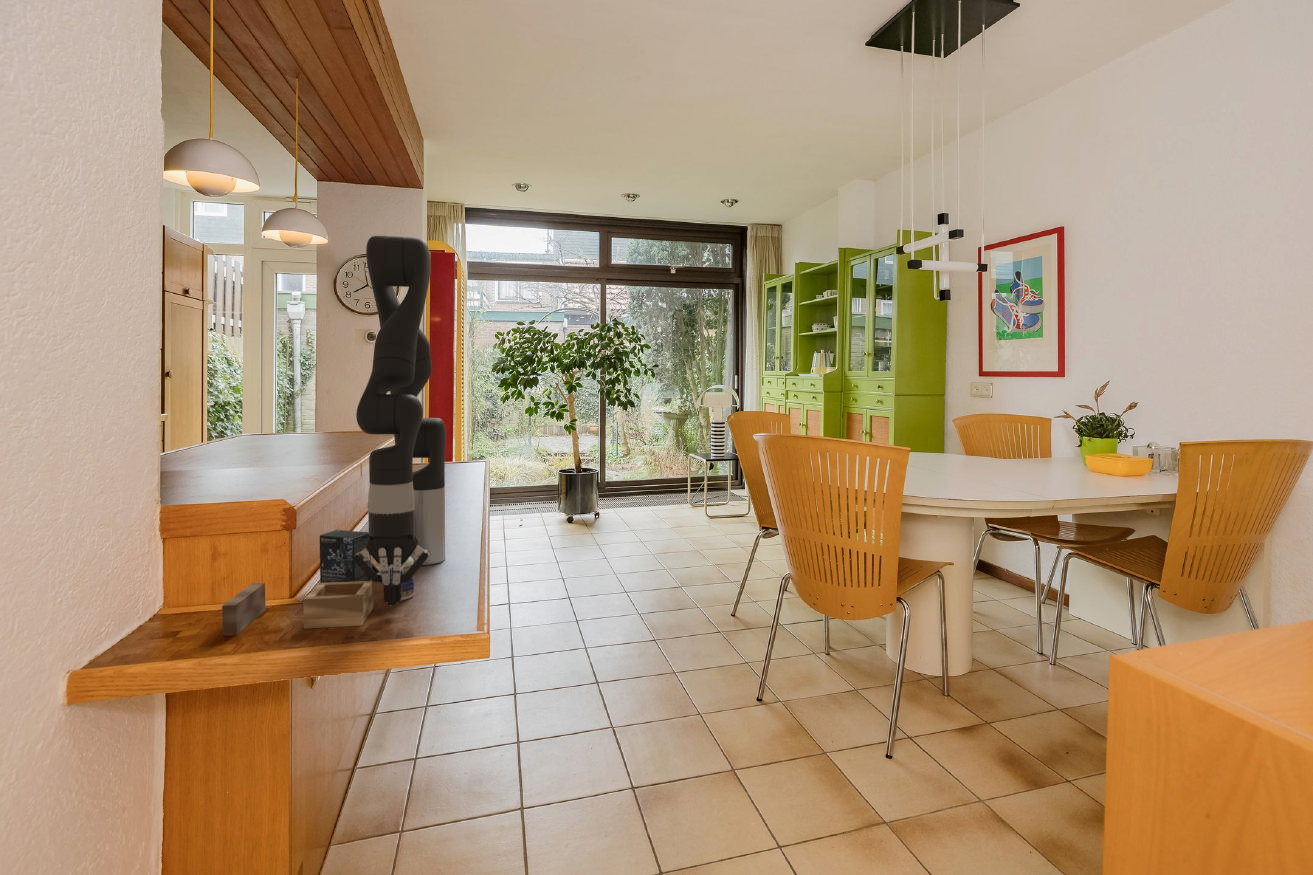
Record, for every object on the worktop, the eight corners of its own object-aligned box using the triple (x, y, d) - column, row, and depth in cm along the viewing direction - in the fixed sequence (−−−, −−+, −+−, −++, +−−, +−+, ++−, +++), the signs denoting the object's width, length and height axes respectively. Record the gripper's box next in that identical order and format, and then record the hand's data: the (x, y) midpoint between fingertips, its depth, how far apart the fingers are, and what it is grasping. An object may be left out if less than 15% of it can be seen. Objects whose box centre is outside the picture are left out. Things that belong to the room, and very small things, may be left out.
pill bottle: (403, 602, 121) (403, 551, 120) (378, 600, 122) (377, 549, 122) (419, 593, 126) (419, 545, 126) (395, 591, 128) (394, 543, 127)
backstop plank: (253, 610, 116) (252, 583, 115) (265, 609, 116) (264, 582, 116) (223, 635, 104) (222, 605, 103) (236, 635, 104) (235, 605, 104)
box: (319, 586, 130) (318, 534, 129) (339, 578, 135) (338, 528, 134) (353, 590, 128) (352, 537, 127) (372, 581, 134) (371, 531, 133)
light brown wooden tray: (320, 609, 116) (319, 582, 116) (373, 607, 118) (373, 580, 118) (304, 628, 108) (303, 599, 107) (361, 625, 110) (361, 596, 109)
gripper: (433, 503, 118) (434, 595, 120) (356, 504, 115) (358, 599, 117) (428, 511, 111) (429, 609, 112) (345, 512, 108) (347, 613, 110)
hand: (392, 603), depth 115 cm, fingers closed
